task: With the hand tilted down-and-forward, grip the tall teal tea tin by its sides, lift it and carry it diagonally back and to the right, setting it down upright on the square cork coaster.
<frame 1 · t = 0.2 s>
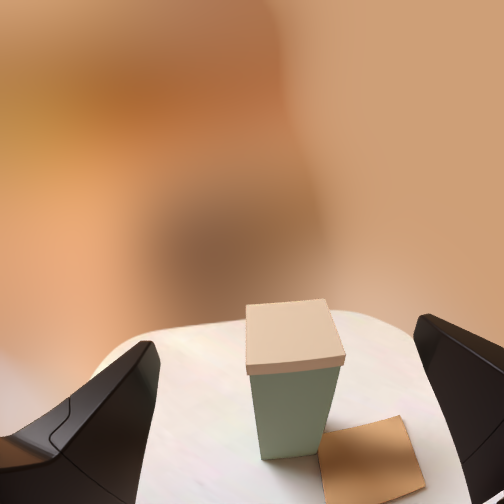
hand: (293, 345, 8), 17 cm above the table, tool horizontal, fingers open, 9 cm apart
tea tin: (286, 436, 20), on the table
coaster: (368, 465, 16), on the table
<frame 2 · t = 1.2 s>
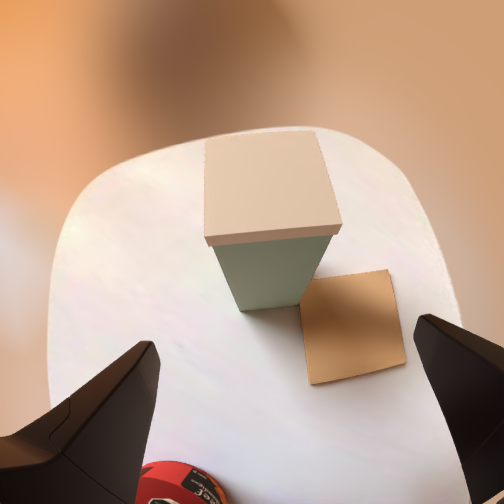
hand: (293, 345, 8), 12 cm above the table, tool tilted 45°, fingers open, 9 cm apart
tea tin: (265, 280, 22), on the table
canned food: (181, 494, 15), on the table
coaster: (352, 325, 20), on the table
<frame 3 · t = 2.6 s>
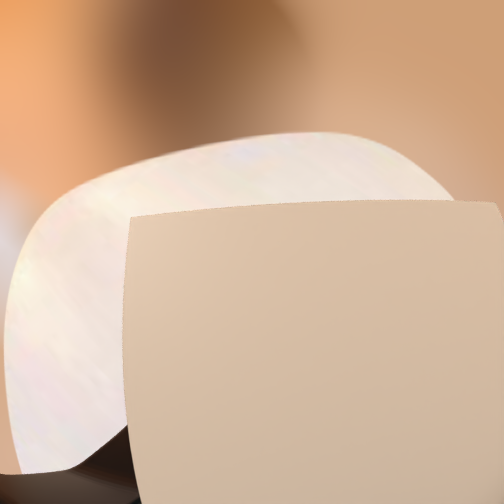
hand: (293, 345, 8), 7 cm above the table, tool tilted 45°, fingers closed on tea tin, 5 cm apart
tea tin: (277, 379, 14), on the table, touching gripper
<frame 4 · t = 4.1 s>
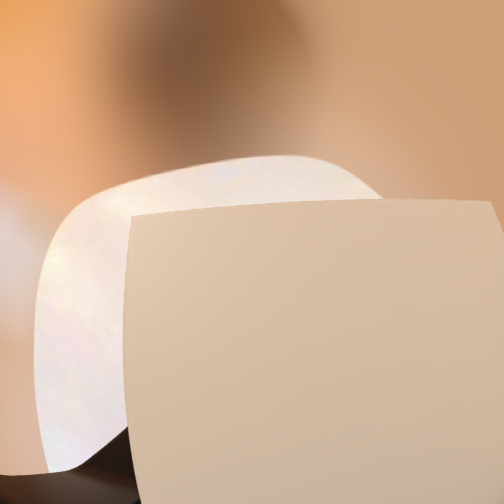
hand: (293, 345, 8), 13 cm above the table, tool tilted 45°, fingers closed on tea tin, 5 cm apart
tea tin: (278, 377, 14), point 7 cm above the table, touching gripper
when the fingers open (8 cm above the table, at t = 5.6 s): tea tin stays where it is, resting on coaster.
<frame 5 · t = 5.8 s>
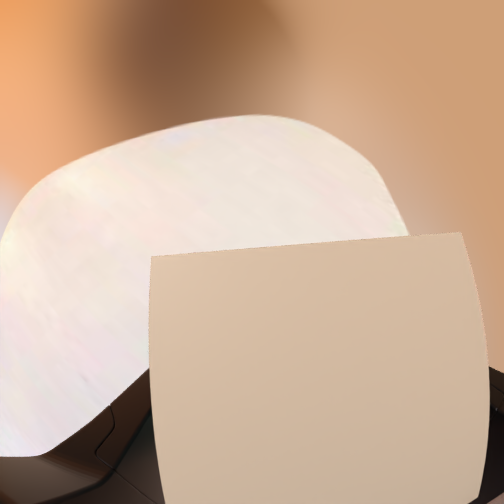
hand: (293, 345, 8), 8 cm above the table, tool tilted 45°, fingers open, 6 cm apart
tea tin: (282, 376, 15), point 1 cm above the table, touching coaster
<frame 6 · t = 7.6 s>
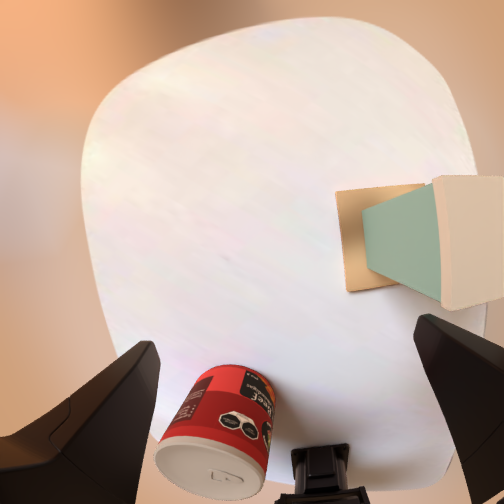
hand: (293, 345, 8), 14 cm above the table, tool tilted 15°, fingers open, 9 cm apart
tea tin: (390, 236, 20), point 1 cm above the table, touching coaster
canned food: (236, 392, 25), on the table
coaster: (387, 235, 21), on the table
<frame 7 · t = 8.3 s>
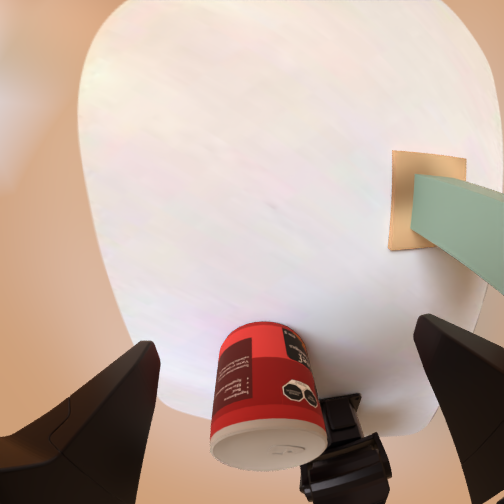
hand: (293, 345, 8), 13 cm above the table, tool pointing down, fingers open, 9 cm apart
tea tin: (433, 202, 19), point 1 cm above the table, touching coaster
canned food: (262, 349, 25), on the table
coaster: (429, 200, 20), on the table
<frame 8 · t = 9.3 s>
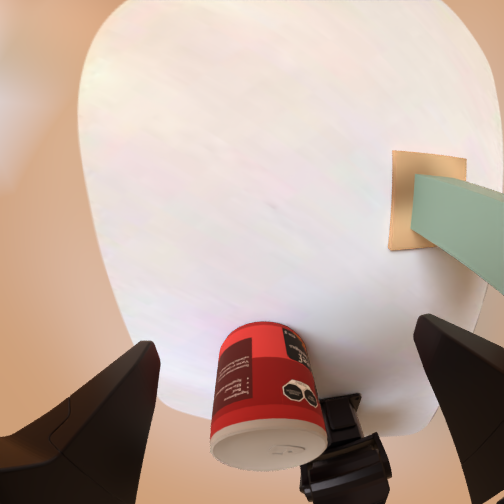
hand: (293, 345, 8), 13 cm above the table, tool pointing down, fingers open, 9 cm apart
tea tin: (433, 202, 19), point 1 cm above the table, touching coaster
canned food: (262, 349, 25), on the table
coaster: (429, 200, 20), on the table
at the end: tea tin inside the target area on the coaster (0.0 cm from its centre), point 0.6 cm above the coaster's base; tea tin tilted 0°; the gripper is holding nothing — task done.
